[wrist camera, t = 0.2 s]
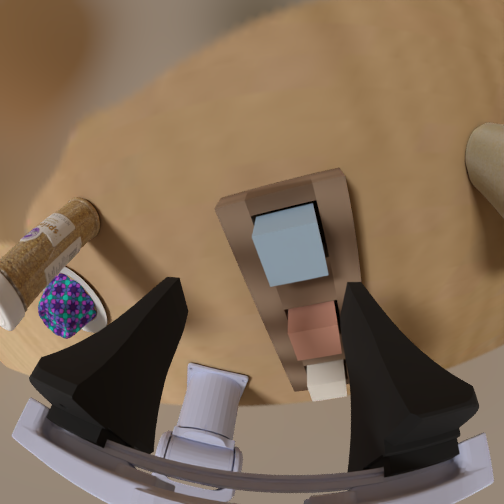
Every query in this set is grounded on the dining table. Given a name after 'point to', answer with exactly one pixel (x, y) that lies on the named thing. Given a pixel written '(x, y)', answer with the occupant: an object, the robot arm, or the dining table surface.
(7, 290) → the sprinkles bottle
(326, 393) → the white key
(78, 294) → the purple domed brimmed piece
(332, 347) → the brick key
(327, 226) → the board
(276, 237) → the blue key
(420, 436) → the robot arm
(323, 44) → the dining table surface
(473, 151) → the flower pot
